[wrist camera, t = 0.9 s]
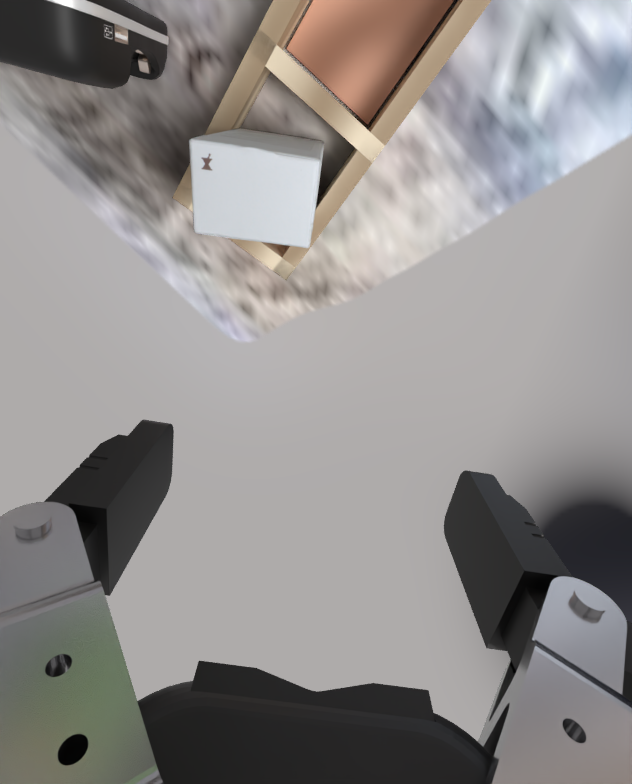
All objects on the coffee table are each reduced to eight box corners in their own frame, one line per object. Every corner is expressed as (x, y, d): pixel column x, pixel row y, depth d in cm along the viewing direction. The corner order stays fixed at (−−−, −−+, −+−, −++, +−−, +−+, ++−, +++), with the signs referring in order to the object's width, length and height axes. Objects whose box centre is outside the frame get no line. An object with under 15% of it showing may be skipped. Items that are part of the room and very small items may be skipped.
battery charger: (62, 68, 27) (-84, 45, 18) (56, -10, 25) (-115, -85, 16) (171, 98, 28) (86, 91, 18) (173, 24, 26) (79, -27, 16)
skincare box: (236, 195, 31) (188, 234, 21) (238, 127, 28) (185, 134, 18) (318, 207, 31) (310, 251, 21) (326, 140, 29) (321, 154, 19)
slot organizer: (185, 190, 31) (172, 197, 28) (382, -188, 21) (389, -229, 18) (289, 267, 34) (286, 280, 31) (506, -32, 24) (527, -49, 21)
